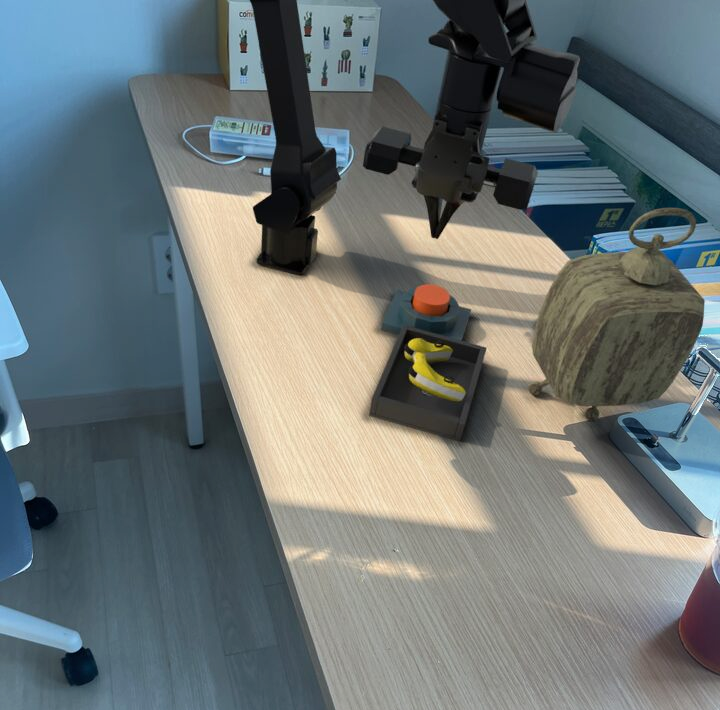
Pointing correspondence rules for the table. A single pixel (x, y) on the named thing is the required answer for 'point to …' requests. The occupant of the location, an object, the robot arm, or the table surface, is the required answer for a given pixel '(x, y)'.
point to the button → (431, 300)
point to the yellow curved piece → (431, 370)
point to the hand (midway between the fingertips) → (435, 236)
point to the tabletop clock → (618, 324)
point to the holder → (407, 401)
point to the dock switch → (425, 317)
